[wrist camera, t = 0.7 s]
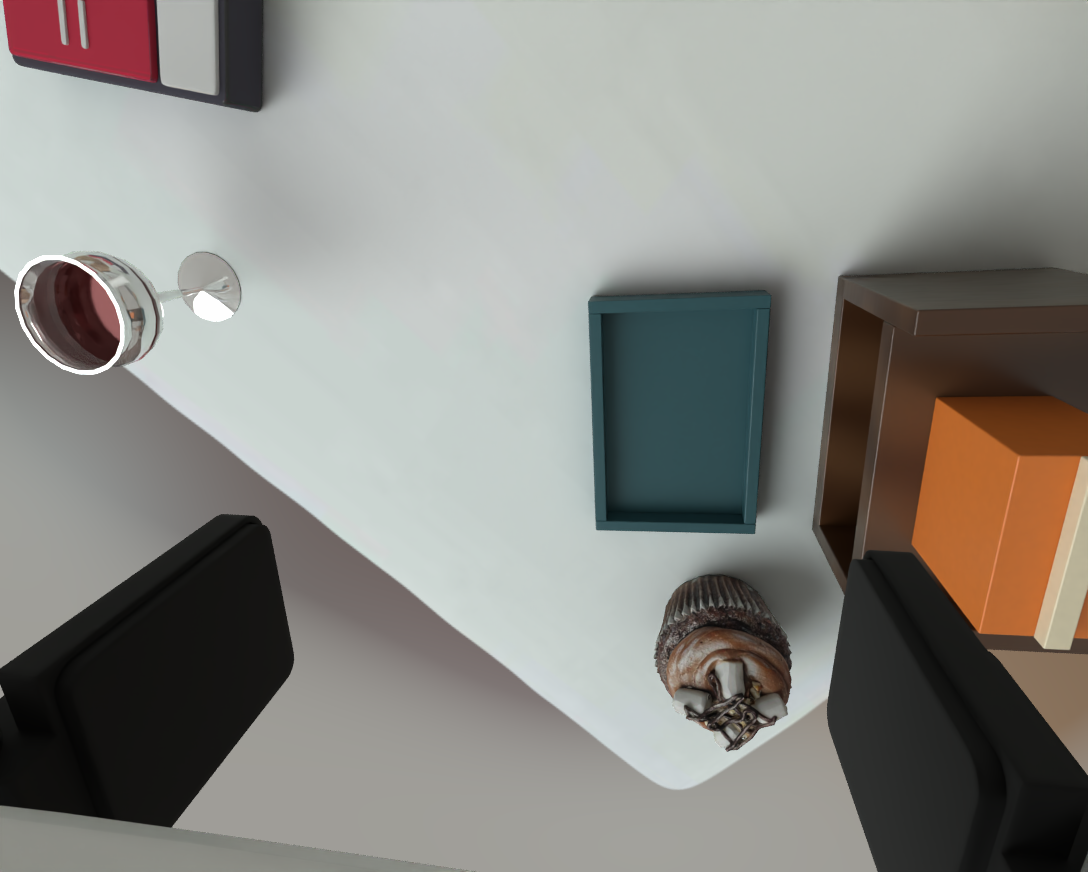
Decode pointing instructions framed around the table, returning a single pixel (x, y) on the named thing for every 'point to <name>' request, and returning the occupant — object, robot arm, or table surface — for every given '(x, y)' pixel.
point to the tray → (678, 409)
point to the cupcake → (724, 659)
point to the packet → (1009, 514)
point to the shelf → (933, 391)
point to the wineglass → (111, 306)
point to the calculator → (146, 45)
